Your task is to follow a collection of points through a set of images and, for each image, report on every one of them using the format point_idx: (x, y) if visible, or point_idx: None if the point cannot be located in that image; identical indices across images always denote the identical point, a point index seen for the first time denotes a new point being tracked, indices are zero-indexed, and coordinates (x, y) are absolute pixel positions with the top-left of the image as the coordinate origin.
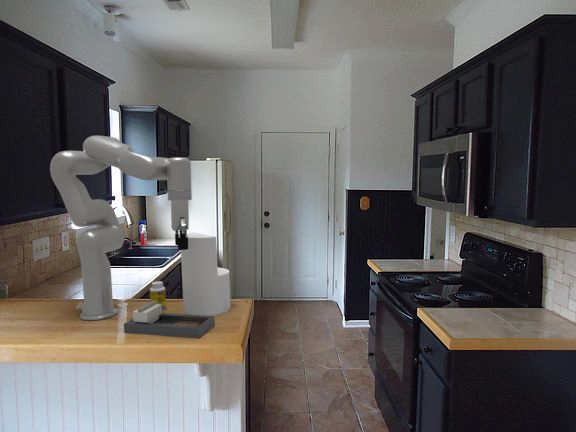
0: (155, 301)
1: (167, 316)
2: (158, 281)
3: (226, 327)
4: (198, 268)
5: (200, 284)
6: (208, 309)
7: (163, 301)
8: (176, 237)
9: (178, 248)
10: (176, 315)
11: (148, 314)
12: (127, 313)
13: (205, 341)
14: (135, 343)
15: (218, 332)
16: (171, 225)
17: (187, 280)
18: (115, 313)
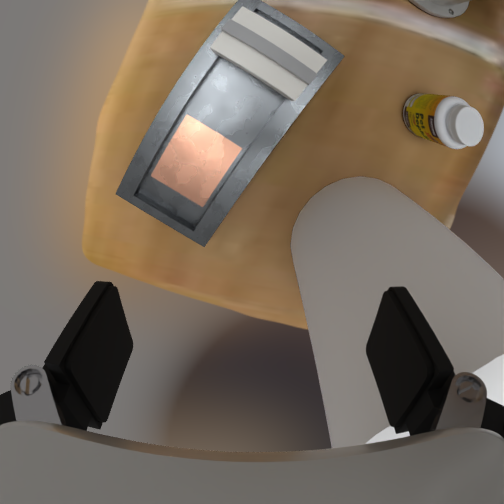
0: (307, 81)
1: (272, 116)
2: (481, 135)
3: (180, 257)
4: (333, 301)
5: (315, 265)
6: (294, 242)
7: (418, 130)
8: (410, 348)
9: (92, 289)
10: (257, 143)
11: (220, 54)
12: (418, 32)
13: (105, 199)
14: (147, 34)
15: (152, 235)
16: (457, 475)
17: (363, 228)
18: (415, 3)
